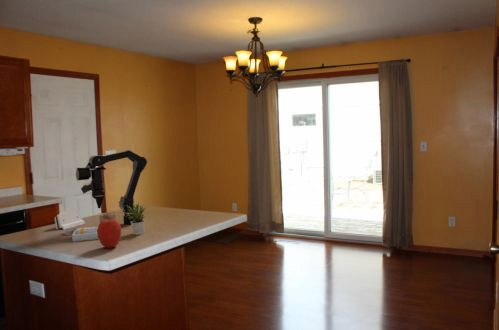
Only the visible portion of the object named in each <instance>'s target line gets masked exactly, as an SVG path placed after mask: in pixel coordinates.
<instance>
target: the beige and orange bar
mask: <svg viewBox="0 0 499 330" xmlns="http://www.w3.org/2000/svg"><path fill="white" fill-rule="evenodd" d="M87 227H88V228H85V227H76V228H77V230H76V231H77V234H86V233H96V232H97V229H98V227H95V226H87Z"/></svg>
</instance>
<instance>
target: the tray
mask: <svg viewBox="0 0 499 330" xmlns="http://www.w3.org/2000/svg"><path fill="white" fill-rule="evenodd" d="M71 236H72V242H81V241H89V240H90V241H91V240H99V238H98V234H97V232H96V233H86V234H77V231H76V230H75V231H74V232H73V235H71Z"/></svg>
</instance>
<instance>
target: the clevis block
mask: <svg viewBox="0 0 499 330" xmlns="http://www.w3.org/2000/svg"><path fill="white" fill-rule="evenodd" d="M106 219H113V220H116V221H117V219H116V212H105V213H104V212H103V213H99V217H98V220H99V224H100V223H101V222H102V221H103V220H106ZM98 226H99V225H96V226H95V225H94V227H98ZM88 227H89V226H85V227H84V228H88ZM77 228H78V227H76V228H74V227H73V228H68V229H65V231H64V234H65V236H72V235H73V232H74V231H75V230H77Z"/></svg>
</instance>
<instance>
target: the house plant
mask: <svg viewBox="0 0 499 330" xmlns="http://www.w3.org/2000/svg"><path fill="white" fill-rule="evenodd" d="M126 206H127V205H126ZM133 206H134V208H133V210H134V212H135V213H134V212H133V210H132V209H131V208H130V207H129V206H128V207H129V208H130V209H131V211H132V212H133V213H132V212H131V211H130V209H129V211H130V212H131V213H126V214H128V215H129V214H133V216H134V215H135V216H134V217H135V218H134V217H133V216H132V215H129V216H130V217H131V216H132V217H131V218H132V219H134V221H131V224H130V225H131V230H132V234H133V235H134V236H135V235H137V236H139V235H143V234H144V233H145V224H146V220H145V219H144V218H145V216H144V215H145V213H144V212H145V210H146V209H147V206H145V207H143V206H142V204H141V203H140V202H136V203H135V204H133ZM127 210H128V208H127ZM143 213H144V214H143ZM148 213H149V212H146V214H148ZM128 215H127V216H128ZM130 217H128V218H130ZM131 218H130V219H131Z"/></svg>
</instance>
